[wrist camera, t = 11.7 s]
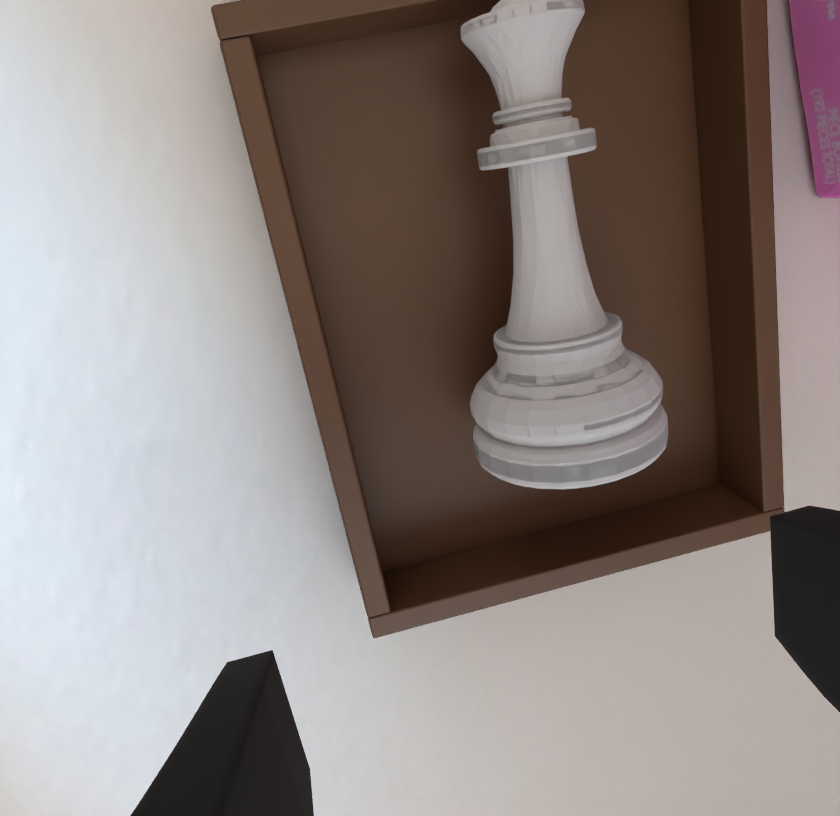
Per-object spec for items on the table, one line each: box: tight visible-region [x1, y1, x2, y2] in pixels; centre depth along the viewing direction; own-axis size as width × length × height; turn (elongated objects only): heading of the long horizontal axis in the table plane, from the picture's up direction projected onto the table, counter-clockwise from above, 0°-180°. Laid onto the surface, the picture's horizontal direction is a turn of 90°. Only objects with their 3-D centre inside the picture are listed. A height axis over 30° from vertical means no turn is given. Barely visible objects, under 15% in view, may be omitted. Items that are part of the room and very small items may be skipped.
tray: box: [211, 0, 784, 638], centre depth 17 cm, size 14×11×2 cm
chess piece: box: [460, 0, 668, 489], centre depth 14 cm, size 4×4×10 cm
